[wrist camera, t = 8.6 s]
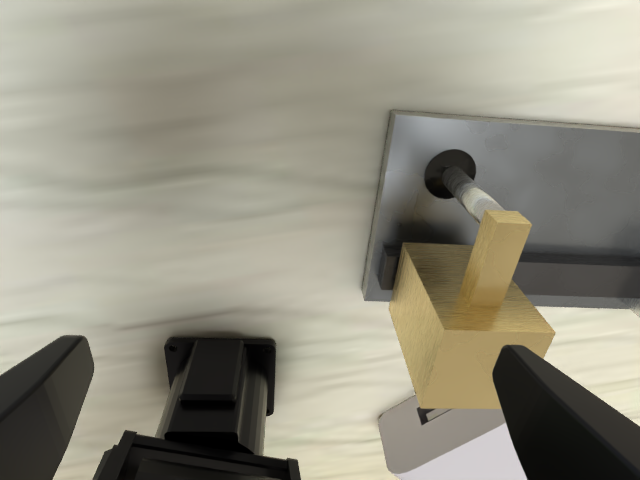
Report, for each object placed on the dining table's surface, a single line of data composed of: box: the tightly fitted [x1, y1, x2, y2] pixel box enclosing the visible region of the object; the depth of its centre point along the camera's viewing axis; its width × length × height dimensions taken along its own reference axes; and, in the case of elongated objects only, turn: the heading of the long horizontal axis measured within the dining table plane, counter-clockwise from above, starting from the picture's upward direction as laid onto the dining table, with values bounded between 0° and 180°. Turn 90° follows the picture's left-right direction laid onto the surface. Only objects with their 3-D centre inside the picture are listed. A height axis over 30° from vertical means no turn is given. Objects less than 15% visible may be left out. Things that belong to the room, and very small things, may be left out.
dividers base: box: [362, 110, 640, 317], centre depth 20 cm, size 10×20×4 cm, turn 85°
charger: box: [379, 395, 527, 480], centre depth 28 cm, size 5×9×15 cm
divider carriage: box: [389, 166, 555, 409], centre depth 17 cm, size 8×4×7 cm, turn 175°
